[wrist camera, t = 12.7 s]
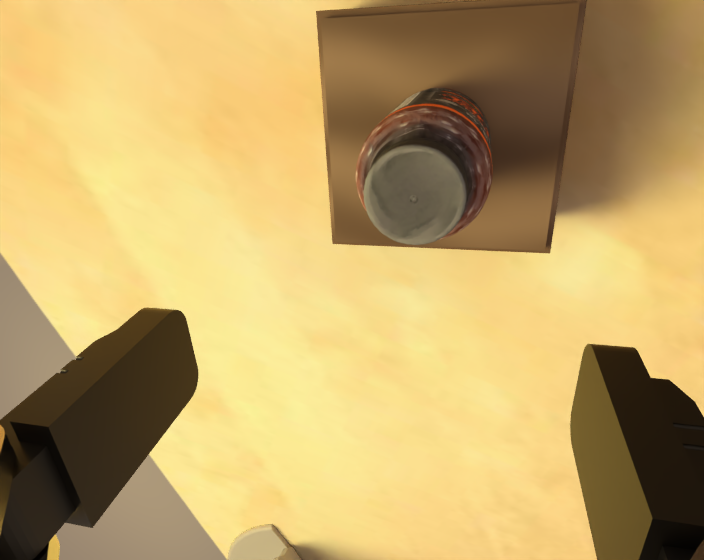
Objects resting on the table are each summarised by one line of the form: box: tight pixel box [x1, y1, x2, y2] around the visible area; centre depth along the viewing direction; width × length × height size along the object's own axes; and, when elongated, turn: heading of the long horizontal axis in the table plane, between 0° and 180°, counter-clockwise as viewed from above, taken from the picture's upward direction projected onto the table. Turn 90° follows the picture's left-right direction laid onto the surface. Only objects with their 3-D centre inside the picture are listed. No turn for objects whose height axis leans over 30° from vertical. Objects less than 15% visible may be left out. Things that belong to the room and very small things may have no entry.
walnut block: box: [316, 0, 587, 253], centre depth 31 cm, size 14×14×7 cm
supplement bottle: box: [355, 88, 493, 245], centre depth 24 cm, size 6×6×11 cm
